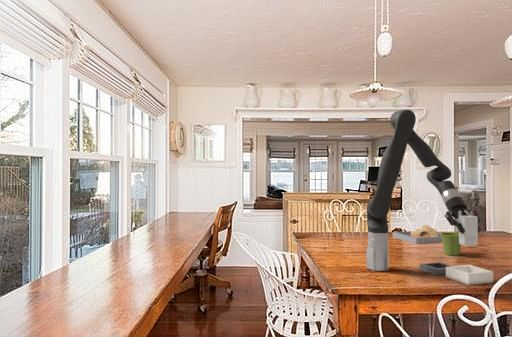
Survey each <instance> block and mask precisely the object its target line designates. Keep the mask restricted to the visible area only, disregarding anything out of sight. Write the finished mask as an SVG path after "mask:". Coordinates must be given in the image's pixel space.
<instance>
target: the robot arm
mask: <svg viewBox="0 0 512 337" xmlns="http://www.w3.org/2000/svg"><path fill="white" fill-rule="evenodd" d="M416 120H417V118H416V114H415V113H414V111H413V110H410V109H402V110H401V109H400V110H397V111H395V112H393V113H392V114H391V116H390V119H389V121H390V122H389V123H390V126H391V127H392V128H393V129H394V132H393V136H392V138H391V140H390V142H389V143H388V145H387V147H386V149H385V150H384V152H383V154H382V156H381V161H380V164H379V166H378V167H379V169H378V173H377V174H378V175H377V185H376V190H375V191H374V195H373V197H372V198H371V199H369V200H368V202H367V204H366V223H367V224H366V225H367V247H366V248H365V251H366V253H365V255H366V256H365V257H366V259H365V261H366V264H365V265H366V266H365V267H366V269H368V270H371V271H378V272H379V271H380V272H386V271H389V269H390V258H389V256H390V253H389V252H390V251H389V249H390V248H389V247H390V246H389V244H390V243H389V240H390V238H389V234H390V233H389V225H388V224H389V223H388V214H389V212H390V209H391V202H392V197H393V192H394V189H395V186H396V183H397V180H398V178H399V175H400V171H401V168H402V165H403V161H404V157H405V153H406V150H407V147H408V146H409V148H411V150H412V151H413V153H414V154H415V155H416V157H417V159H418V160H419V161H420V163H421V165H422V166H423V167H424V168H430V167H435V168H433V169H431V170H429V171H427V172H426V179H427V181H428V182H429V183H430V184H431V185H432V186H433V187H435V188H436V190H437V191H438V193H439V194H440V196H441V199H442V202H443V203H444V205H445V207H446V209H447V211H446V212H445V214H444V218H446V220H447V222H448V223H449V224H450V226H452V227H453V226H455V227H456V228H457V230H458V233H459V232H461V234H463V233H464V232H465V229H464V228H463V226H462V224H460V223H461V222H460V220H459V216H477V217H478V234H479V233H480V232H481V227H480V226H479V224H480V223H481V219H480V216H479V214H478V211H477V210H473V211H470V210H469V209H468V207H467V204H466V202H465V200H464V198H463V197H462V195H461V194H460V192H459V191H458V190H457V188H456V186H455V184H454V183H453V181H451V180H449V179H450V178H451V177H452V171H451V169H450V168H449V167H448V166H447V165H446V164H444V162H442V161H441V159H439V158H438V157H437V156H436V153H434V151H433V150H432V148H431V146H430V145H428V143H427V142H426V141H424V140H423V138H421V137H420V136H419V135H418V134H417V133H416V131H415V130H414V129H415V128H414V127H415V124H416Z"/></svg>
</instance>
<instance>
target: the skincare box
mask: <svg viewBox="0 0 512 337" xmlns="http://www.w3.org/2000/svg"><path fill="white" fill-rule="evenodd" d="M459 220H460V222H461V223H460V224H462V226H463V228H464V229H465V232H464V233H463V234H461V232H459V231H458V233H459V244H461V246H465V247H466V246H478V245H479V233H478V226H479V224H478V217H477V216H459Z"/></svg>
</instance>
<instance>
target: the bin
mask: <svg viewBox="0 0 512 337" xmlns="http://www.w3.org/2000/svg"><path fill="white" fill-rule="evenodd" d="M445 278H447V279H450V280H452V281H455V282H459V283H462V284H464V285H467V286H473V285H482V284H491V283H494V271H493V270H489V269H486V268H482V267H479V266H475V265H473V264H463V265H461V264H460V265H450V266H449V267H446V274H445Z"/></svg>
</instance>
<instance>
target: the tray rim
mask: <svg viewBox="0 0 512 337" xmlns="http://www.w3.org/2000/svg"><path fill="white" fill-rule="evenodd" d="M412 231H413V230H412ZM412 231H410V230H409V231H396V232H392V238H393V239H397V240H400V241H404V242H407V243H412V244H416V245H418V244H431V243H432V244H433V243H443V241H442V238H441V235H440V233H438V235H439V236H435V237H420V238H416V237H412V236H411V235H410V233H411V232H412Z"/></svg>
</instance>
